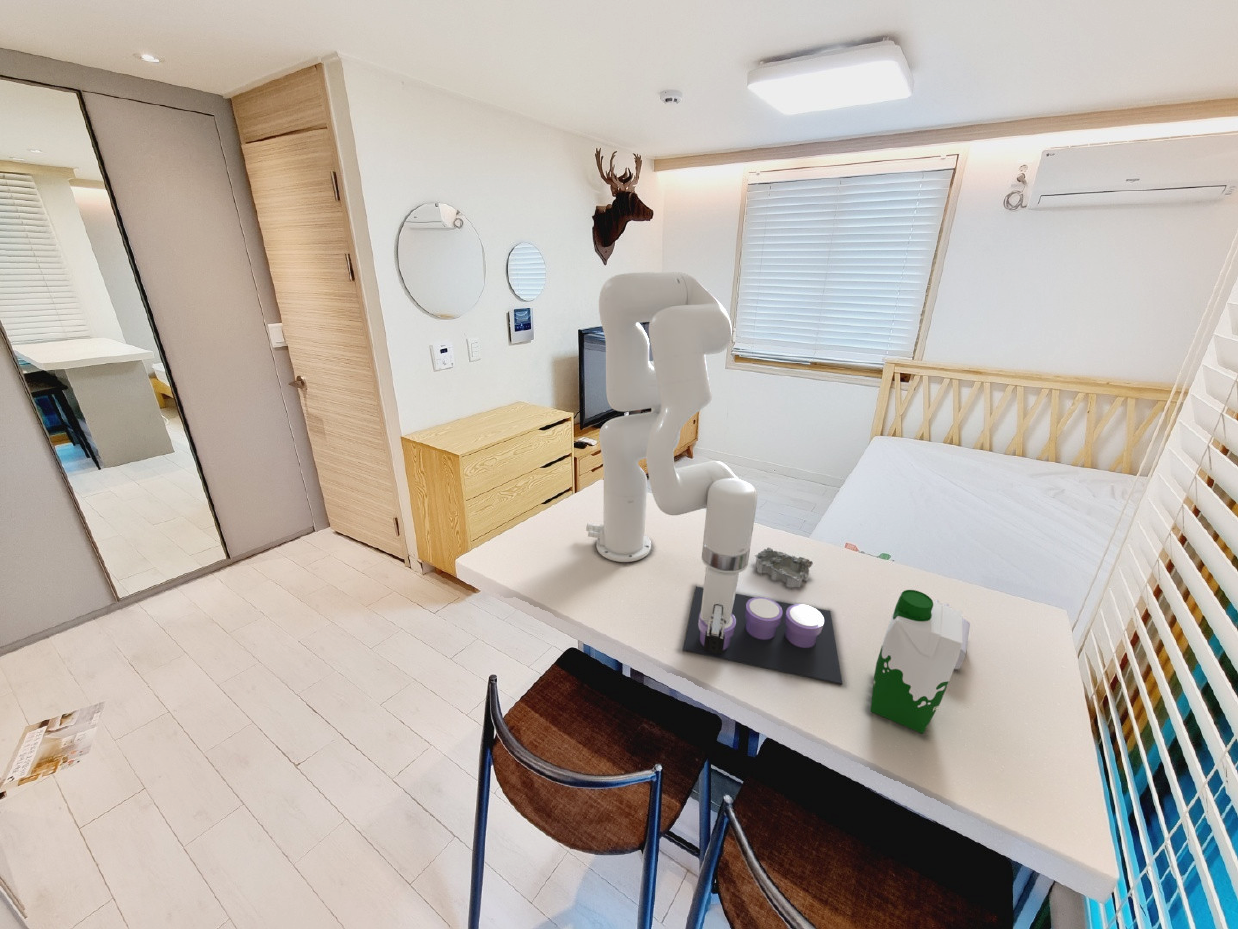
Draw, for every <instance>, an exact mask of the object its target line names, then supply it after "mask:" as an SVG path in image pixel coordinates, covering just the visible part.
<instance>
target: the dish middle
mask: <svg viewBox="0 0 1238 929" xmlns="http://www.w3.org/2000/svg"><path fill="white" fill-rule="evenodd" d="M754 597H755V598H751V599H750V600H748V601H747V603H746V608H745V616H746V618H747V620H746V630H747V632H748V633H749V634H750V635H752V636H753V637H755V638H758V639H762V640H767V639H771V638H773V637H774V636H775V634H776V629H777V626H778V625H779V624H780V623H781V619H782V614H783V611H782V608H781V607H780V605H779V604H778V603H776V602H775V601H776V600H773V599H772V598H769V597H764V596H754Z"/></svg>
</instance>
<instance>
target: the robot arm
mask: <svg viewBox="0 0 1238 929" xmlns="http://www.w3.org/2000/svg"><path fill="white" fill-rule="evenodd" d="M598 313H599V314H598V315H599V318H600V324H601V328H602V331H603V334H604V339H605V391H606V399H607V403H608V404H609V406H610V408H611V409H612V410H614V411H617V412H633V411H641V410H647V409H651V411H649V412H642V413H633V414H627V415H622V416H617V417H614V418H610V419H609V420H607V421H606V422H605V423H604V424H602V426H601V427H600V429H599V434H598V441H599V448H600V453H601V459H602V469H603V470H602V471H603V512H602V513H603V516H602V517H603V521H602V523H601V524H600V525H599V524H595V523H587V524H586V527H585V531H586V532H587V536H588V538H596V539H597V540H596V550H597V552H598V553H599V554H600V555H601V556H602V557H604V558H605V559H607V560H610V561H613V562H617V563H631V562H636V561H639V560H642V559H644V558H645V557H646V556H648V555H649V554H650V553H651V550H652V541H651V539H650V537H649V536H647V535H646V518H647V499H648V495H647V494H648V480H649V486H650V489H651V493H652V497H653V500H654V502H655V504H656V506H657V507H658V509H659V510H660V511H661V512H662V513H664V514H666V515H668V516H681V515H684V514H688V513H692V512H695V511H699V510H703V509H706V510H705V522H704V528H703V529H704V531H703V538H702V539H703V540H702V548H701V549H702V551H701V561H702V563H703V565H704V566H705V573H704V581H703V588H704V589H703V598H702V607H701V615H700V618H701V619H702V620H704V621H708V620H709V621H708V628H707V631H706V633H705V642H704V651H706V652H711V653H716V654H722V653H723V646H724V639H725V635H724V627H725V625H727V624H728V623H729V621H730V617H731V613H732V609H733V604H734V599H735V594H737V587H738V581H739V574H740V573H742V572H744V571H745V570H746V569H747V568H748V566H749V559H750V552H751V545H752V539H753V531H754V525H755V518H756V511H757V506H758V505H757V503H758V491H757V490H756V488H755V486H753V485H752V484H751V483H749V482H747V481H745V480H743V479H740V478H739V477H738V476H737V475H736V474H735V473H734V472H733V471H732V469H731V468H730V467H728V466H727V464H725V463H724V462H722V461H719V460H708V461H705V462H701V463H694V464H690V465H685V466H680V467H676V464H675V456H674V455H675V454H674V453H675V452H674V451H675V449H677V447H678V446H679V442H680V439H681V430H682V428H683V427H684V426H685V425H686V423H687V422H688V421H689V420H690V419H691V418H693V416H695V414H697V413H698V412H700V411H701V410H703V409H704V408H705V407H707V406H708V405H709V404H710V403H711V401H712V398H713V392H712V388H711V382H710V376H709V371H708V366H707V360H706V356H708V355H716V354H720V353H722V352H724V351H725V350H727V348H728V347H729V346H730V343H731V340H732V336H733V329H732V322H731V319H730V317H729V314H728V313H727V311H726V308H724V306H723V304H721V303H720V301H719V300H717V298H716V297H715V296H714V295H713V294H712V293H711V292H710V291H709V290H707V288H706V287H704V286H703V285H702V283H701V282H700V281H698V279H696V278H695V277H694V276H692V275H691V274H689V273H686V272H679V271H678V272H677V271H665V272H663V271H662V272H661V271H660V272H655V271H654V272H653V271H652V272H651V271H649V272H648V271H645V272H643V271H642V272H627V273H626V272H625V273H620V274H616V275H614V276H611V277H609V278H608V279H607V280H605V282H604V284H602V287H601V289H600V291H599V299H598ZM641 323H648V324H649V325H648V334H647V332H646V330H645V329H644V327H643V326H642V324H641ZM650 346H651V347H650ZM650 349H651V354H652V359H653V360H650ZM641 460H646V468H647V473H648V478H647V473H646V472H645V471H644V470H643V468H642V467H641V466H640V465H639V462H640V461H641ZM712 614H714V616H713V617H712V616H711V615H712ZM721 615H722V616H723V618H721ZM711 622H713V624H712V628H711ZM725 623H726V624H725ZM720 624H722V626H721V630H719V629H720Z"/></svg>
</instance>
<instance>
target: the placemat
mask: <svg viewBox="0 0 1238 929" xmlns="http://www.w3.org/2000/svg"><path fill="white" fill-rule="evenodd" d="M703 589H704V587H702V586H695V589H694V594H693V600H692V604H691V608H690V614H689V618H688V623H687V628H686V633H685V638H684V642H683V647H682V651H683V652H687V653H692V654H695V655H696V654H697V655H701V656H705V657H710V658H716V659H720V660H724V661H730V662H734V663H739V664H743V665H749V666H752V667H757V668H762V669H766V670H772V671H776V672H781V673H786V674H791V675H794V676H795V675H796V676H799V677H800V676H801V677H805V678H810V679H813V680H819V681H824V682H828V683H833V684H836V685H837V684H838V685H843V679H842V673H841V672H842V671H841V668H840V667H841V666H840V661H839V655H838V648H837V643H836V636H835V630H834V626H833V624H834V623H833V619H832V613H831V610H829V609H823V608H822V609H821V608H817V607H814V608H815V609H816V610H818V611H819V612H820V613H821V614H822V616H823V618H824V625H823V629H822V632H821V633H820V634H819V635H818V637H817V641H816V644H815V645H814V646H812V647H809V648H802V647H798V646H796V645H794V644H792V643H791V642H789V641H788V639H787V638H786V636H785V630H786V623H785V615H786V610H787V609H788V607H790V606H791V605H795V603H789V602H785V601H779V600H774V601H775V602H776V603H778V604H779V605H780V607H781V608H782V611H783V614H782V619H781V623H780V624H779V625H778V626H777V629H776V634H775V636H774V637H773V638H771V639H767V640H762V639H758V638H755V637H753V636H752V635H750V634H749V633H748V632H747V630H746V620H747V618H746V616H745V608H746V603H747V601H748V600H750V599H751V598H755V597H756V596H751V595H745V594H739V593H736V594H735V599H734V604H733V609H732V614H733V615H734V617H735V619H736V626H735V632H734V634H733V635H732V636H731V640H730V645H729V647H728V648H726V649H725V650H723V653H722V654H716V653H711V652H706V651H704V646H703V645H702V643H701V642H700V638H699V637H700V629H699V627H698V620H699V614H700V612H701V607H702V598H703Z"/></svg>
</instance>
